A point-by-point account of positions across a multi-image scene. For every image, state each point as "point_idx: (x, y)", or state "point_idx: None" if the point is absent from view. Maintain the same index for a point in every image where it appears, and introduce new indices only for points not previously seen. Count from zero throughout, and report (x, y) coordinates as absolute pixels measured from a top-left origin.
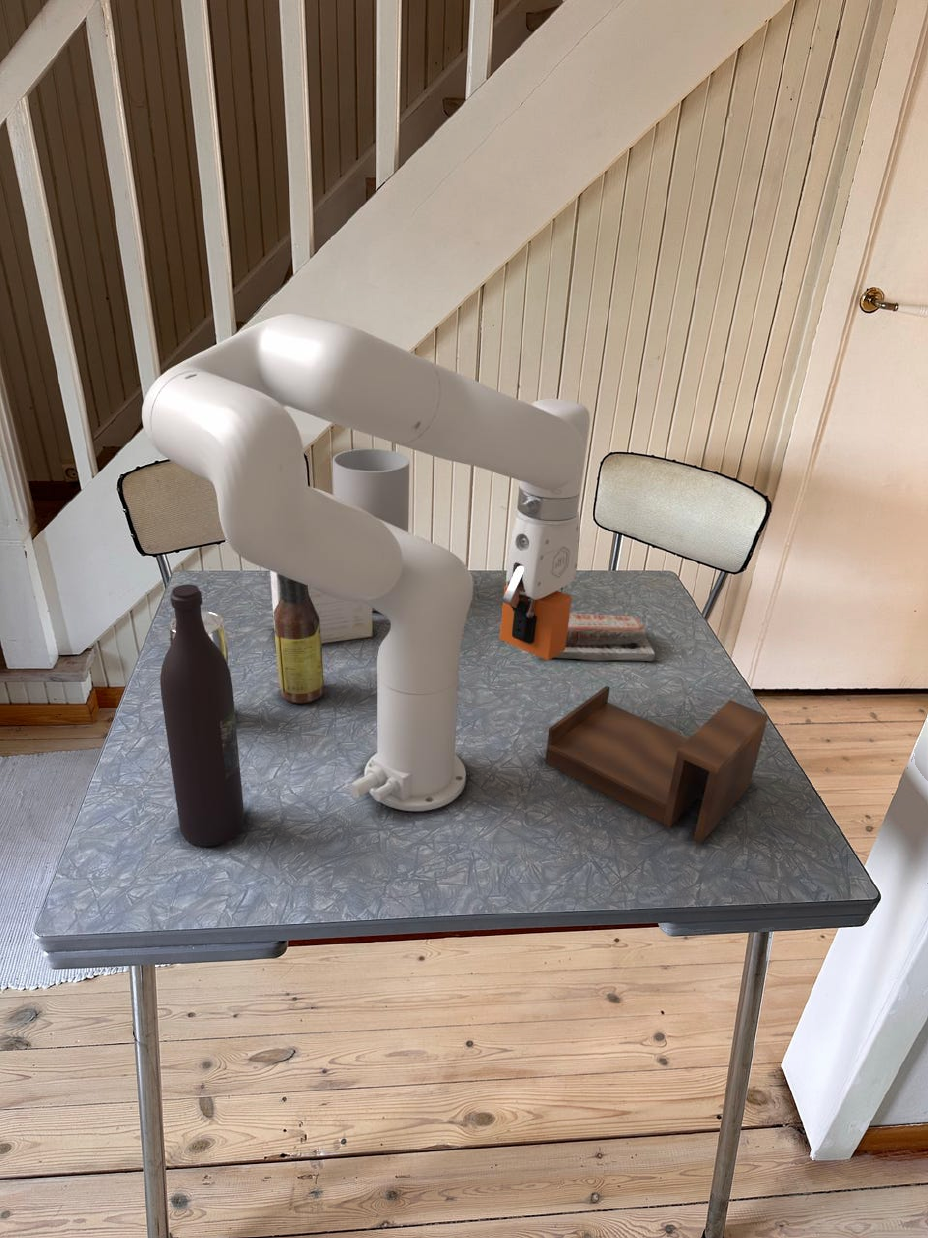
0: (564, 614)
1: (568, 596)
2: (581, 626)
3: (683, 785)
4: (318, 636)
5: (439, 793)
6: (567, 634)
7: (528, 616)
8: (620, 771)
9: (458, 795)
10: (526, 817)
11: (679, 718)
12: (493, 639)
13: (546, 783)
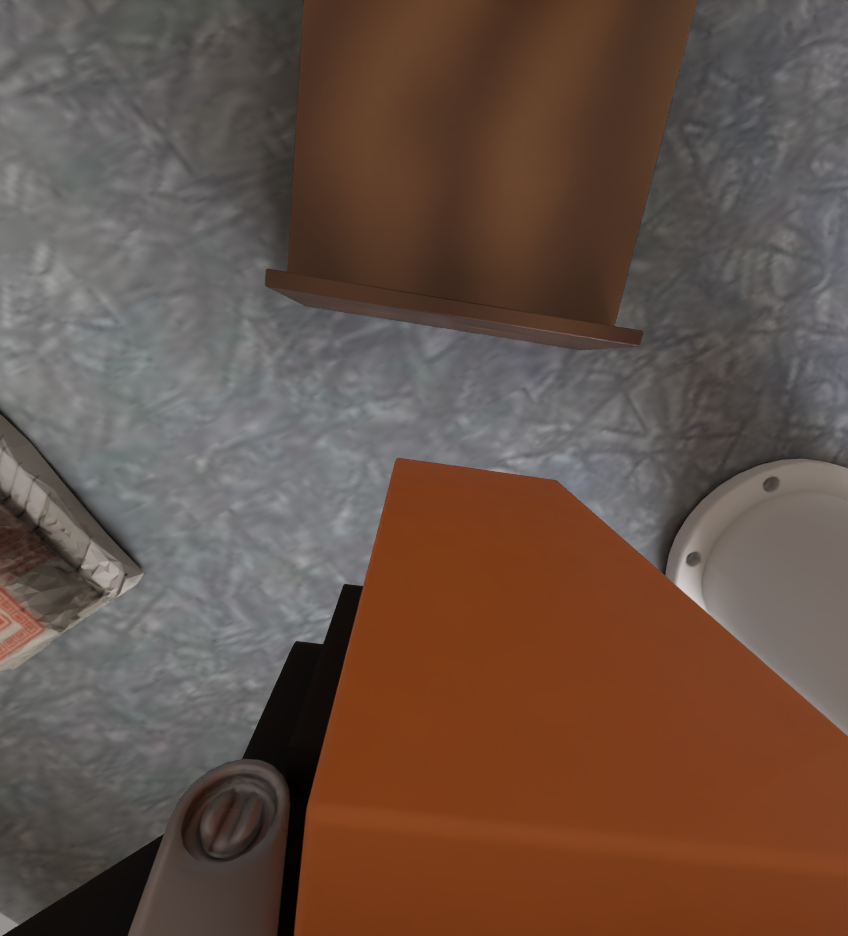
0: (493, 604)
1: (387, 869)
2: None
3: None
4: None
5: (838, 491)
6: (15, 568)
7: None
8: (634, 70)
9: (795, 459)
10: (798, 291)
11: (131, 72)
12: (159, 706)
13: (656, 308)
